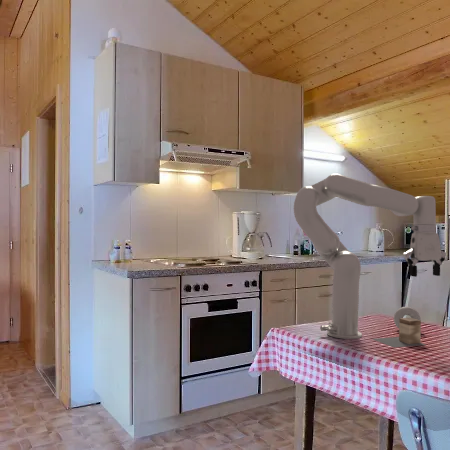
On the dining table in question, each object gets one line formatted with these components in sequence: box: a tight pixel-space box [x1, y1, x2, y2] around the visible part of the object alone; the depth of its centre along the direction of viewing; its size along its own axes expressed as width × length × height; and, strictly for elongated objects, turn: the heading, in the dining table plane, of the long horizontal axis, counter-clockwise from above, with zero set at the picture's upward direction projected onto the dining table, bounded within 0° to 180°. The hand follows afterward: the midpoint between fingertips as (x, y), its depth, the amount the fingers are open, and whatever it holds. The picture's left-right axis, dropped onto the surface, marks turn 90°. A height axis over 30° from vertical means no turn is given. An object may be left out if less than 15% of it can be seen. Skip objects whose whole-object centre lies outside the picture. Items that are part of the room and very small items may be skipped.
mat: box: [372, 336, 427, 348], centre depth 161 cm, size 14×12×1 cm
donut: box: [393, 306, 422, 329], centre depth 179 cm, size 10×3×10 cm, turn 73°
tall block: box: [398, 317, 422, 344], centre depth 161 cm, size 5×5×8 cm
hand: (425, 275), depth 166 cm, fingers open, 9 cm apart
